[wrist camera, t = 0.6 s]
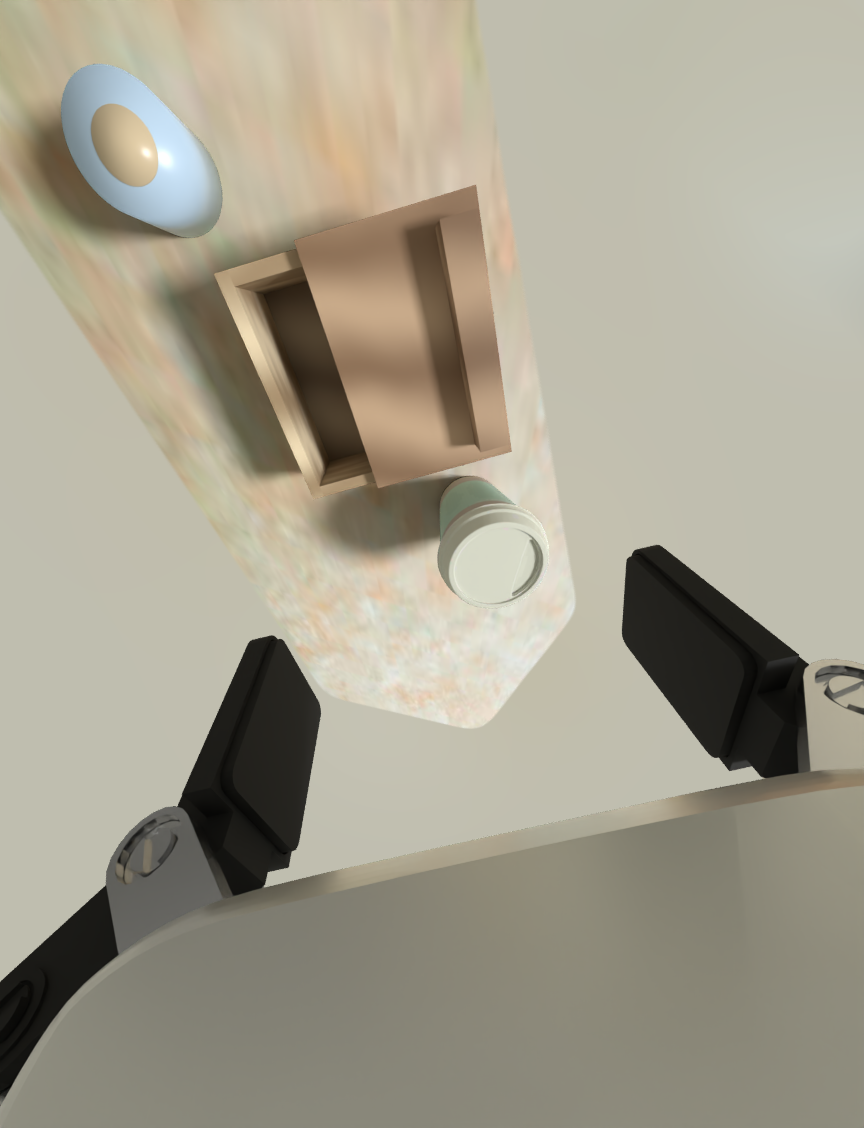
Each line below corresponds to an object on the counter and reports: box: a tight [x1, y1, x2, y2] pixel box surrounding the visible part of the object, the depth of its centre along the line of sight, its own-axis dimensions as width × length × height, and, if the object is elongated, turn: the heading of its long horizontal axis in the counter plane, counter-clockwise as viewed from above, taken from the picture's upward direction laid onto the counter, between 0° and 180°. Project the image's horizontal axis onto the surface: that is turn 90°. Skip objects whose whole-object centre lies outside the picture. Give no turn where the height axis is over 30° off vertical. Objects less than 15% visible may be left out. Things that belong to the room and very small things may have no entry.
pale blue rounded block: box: [61, 64, 222, 238], centre depth 22 cm, size 6×6×6 cm
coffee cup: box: [438, 476, 549, 609], centre depth 33 cm, size 9×8×12 cm
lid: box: [294, 185, 512, 488], centre depth 24 cm, size 14×10×3 cm
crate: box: [214, 249, 376, 499], centre depth 28 cm, size 14×10×7 cm
